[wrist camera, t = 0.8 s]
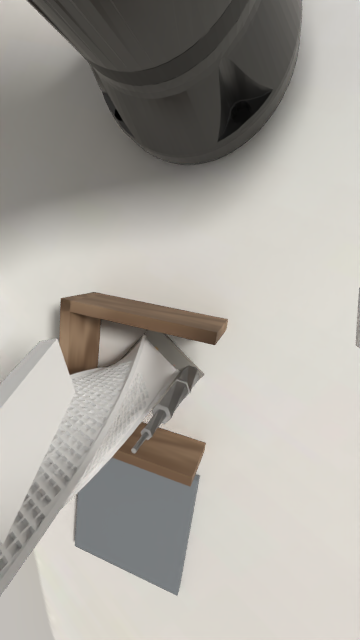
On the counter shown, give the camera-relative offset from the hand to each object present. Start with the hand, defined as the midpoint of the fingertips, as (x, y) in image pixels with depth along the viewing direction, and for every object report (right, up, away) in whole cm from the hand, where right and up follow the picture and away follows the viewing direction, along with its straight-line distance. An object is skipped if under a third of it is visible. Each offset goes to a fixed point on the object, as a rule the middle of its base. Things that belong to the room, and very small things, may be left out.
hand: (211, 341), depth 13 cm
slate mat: (-7, -22, +22) cm, 31 cm away
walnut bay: (-5, -4, +17) cm, 18 cm away
